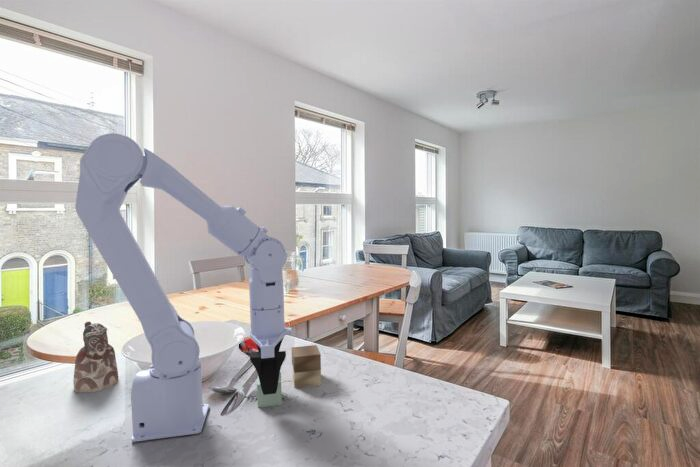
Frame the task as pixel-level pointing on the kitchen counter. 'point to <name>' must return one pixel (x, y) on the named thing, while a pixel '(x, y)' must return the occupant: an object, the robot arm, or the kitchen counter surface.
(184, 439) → the kitchen counter surface
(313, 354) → the walnut top block
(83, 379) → the figurine
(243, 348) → the race car
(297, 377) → the beech base block
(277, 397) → the sage cube
